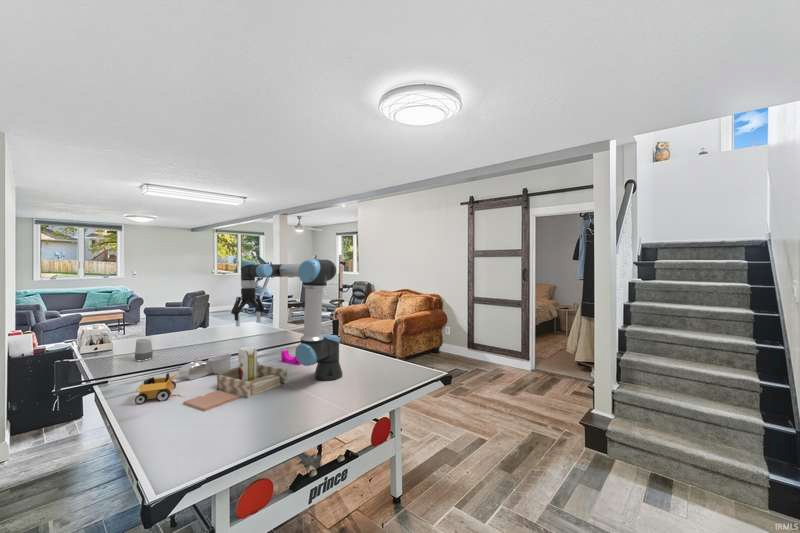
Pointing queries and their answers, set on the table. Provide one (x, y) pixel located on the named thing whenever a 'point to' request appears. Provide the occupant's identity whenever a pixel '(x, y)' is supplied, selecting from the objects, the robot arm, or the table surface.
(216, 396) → the pad
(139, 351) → the smart speaker
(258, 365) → the birch rack
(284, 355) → the toy block
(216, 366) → the teacup
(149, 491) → the table surface
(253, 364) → the juice carton
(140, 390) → the yellow toy car
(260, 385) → the offcut stack
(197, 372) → the vr headset
